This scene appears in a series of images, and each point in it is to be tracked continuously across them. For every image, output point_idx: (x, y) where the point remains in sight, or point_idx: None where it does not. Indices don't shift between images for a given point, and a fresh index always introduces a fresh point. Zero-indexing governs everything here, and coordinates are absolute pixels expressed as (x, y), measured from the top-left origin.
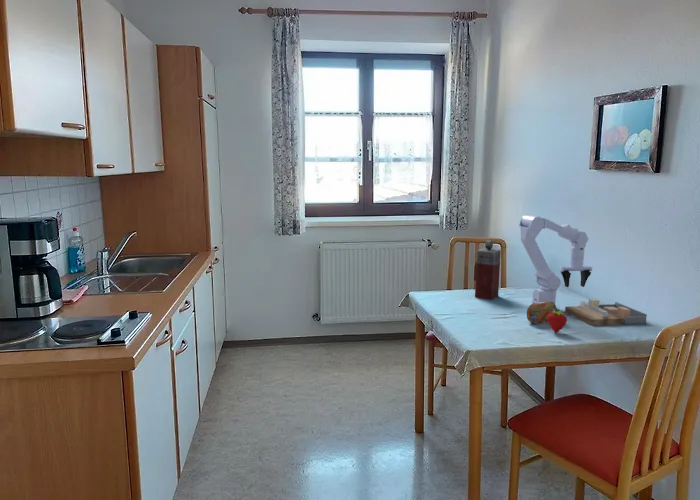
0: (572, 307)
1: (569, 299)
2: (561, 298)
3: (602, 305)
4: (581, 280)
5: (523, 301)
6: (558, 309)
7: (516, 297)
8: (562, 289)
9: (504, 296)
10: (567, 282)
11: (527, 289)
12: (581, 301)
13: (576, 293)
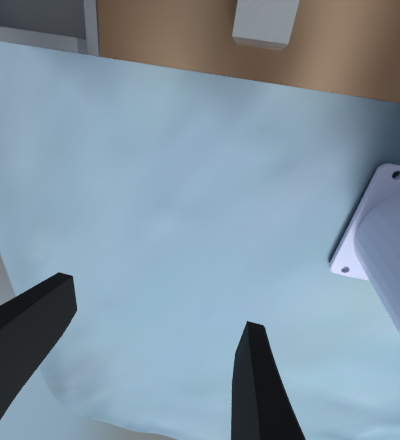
0: (372, 52)
1: (129, 310)
2: (156, 331)
3: (43, 33)
4: (29, 363)
5: (393, 365)
6: (389, 164)
7: (354, 408)
8: (78, 394)
9: (393, 433)
10: (281, 383)
11: (204, 437)
12: (271, 39)
13: (52, 351)
